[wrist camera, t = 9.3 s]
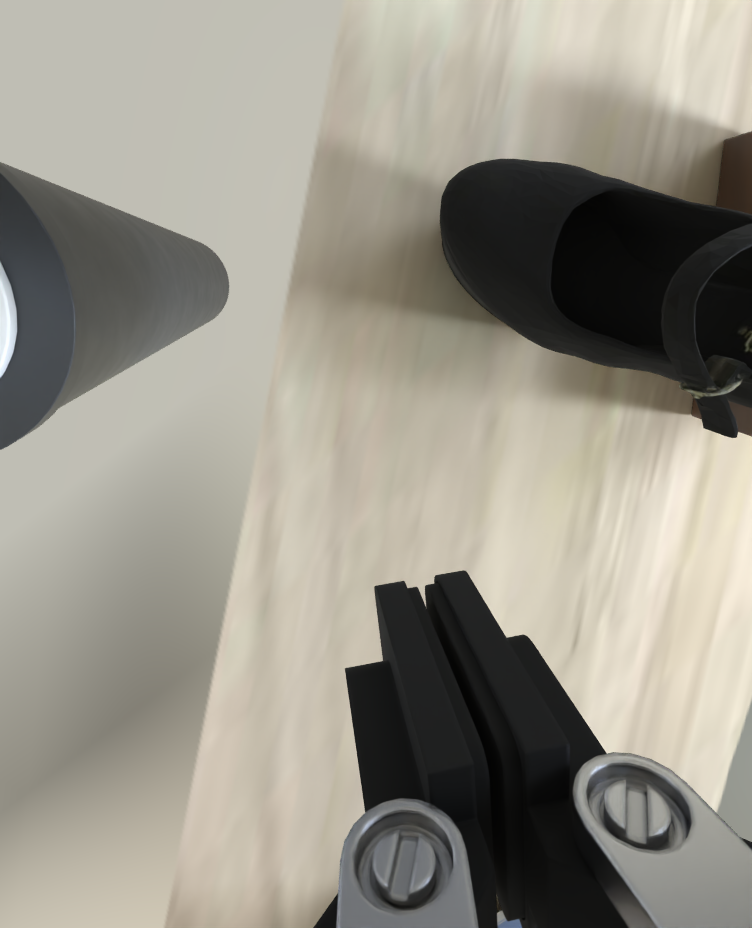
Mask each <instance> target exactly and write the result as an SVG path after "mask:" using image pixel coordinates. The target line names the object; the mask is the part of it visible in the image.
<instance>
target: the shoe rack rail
mask: <svg viewBox="0 0 752 928" xmlns="http://www.w3.org/2000/svg"><path fill="white" fill-rule="evenodd" d="M716 207H721V208H726V209H732V210H737V211H741V212H744V213H748V214H751V215H752V131H751V132H748V133H745V134H741V135H738V136H735V137H732V138H729V139H726V140H724V146H723V155H722V163H721V172H720V180H719V188H718V197H717V205H716ZM728 402H729V404H730V408H731V410H732V412H733V414H734V416H735V418H736V423H737V426H738V432H741V433H744V434H747V435H749V436H752V408H749V407H746V406H743V405H739V404H736V403H733V402H730V401H728ZM692 416H694V417H697V418H700V419H702V417H701V414H700V411H699V408H698V405H697V403H696V401H695V398H694V399H693V407H692Z"/></svg>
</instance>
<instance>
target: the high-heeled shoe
mask: <svg viewBox="0 0 752 928" xmlns="http://www.w3.org/2000/svg"><path fill="white" fill-rule="evenodd" d="M440 228H441V236H442V246H443V251H444V254H445V257H446V260H447V262H448V264H449V267H450V269H451V270H452V272H453V274H454V276H455V277H456V279H457V280H458V281H459V283H460V284H461V285H462V286H463V287H464V289H465V290H466V291H467V292H468V293H469V294H470V295H471V296H472V297H473V298H474V299H475V300H476V301H477V302H478V303H479V304H480V305H481V306H482V307H484V308H485V309H486V310H487V311H489V312H490V313H491V314H493V315H494V316H495V317H497V318H498V319H500V320H501V321H503V322H504V323H506V324H507V325H508V326H510V327H511V328H512V329H514V330H515V331H516V332H518V333H519V334H521V335H522V336H524V337H525V338H527V339H528V340H530V341H532V342H534V343H536V344H538V345H540V346H541V347H544V348H547V349H549V350H552V351H555V352H559V353H563V354H568V355H572V356H576V357H579V358H582V359H585V360H588V361H590V362H593V363H597V364H601V365H604V366H608V367H617V368H627V369H634V370H641V371H648V372H652V373H656V374H659V375H662V376H664V377H667V378H670V379H672V380H675V381H678V382H682V383H681V384H680V385H679V388H681V389H683V390H685V391H687V392H690V393H691V394H692V396H693V397H694V398H695V401H696V403H697V405H698V408H699V411H700V414H701V417H702V422H703V427H704V428H705V429H708V430H711V431H713V432H716V433H719V434H721V435H724V436H727V437H731V438H736V437H737V433H738V426H737V423H736V418H735V416H734V414H733V412H732V410H731V408H730V404H729V402H728V401H730V402H733V403H736V404H739V405H743V406H746V407H749V408H752V215H751V214H748V213H744V212H741V211H737V210H732V209H726V208H721V207H715V206H710V205H704V204H699V203H693V202H689V201H685V200H682V199H679V198H675V197H672V196H669V195H665V194H662V193H659V192H655V191H652V190H649V189H645V188H642V187H639V186H636V185H634V184H631V183H628V182H625V181H622V180H619V179H615V178H611V177H606V176H602V175H599V174H597V173H594V172H591V171H589V170H586V169H583V168H581V167H577V166H572V165H567V164H562V163H555V162H538V161H529V160H519V159H497V160H490V161H485V162H480V163H477V164H475V165H472V166H469V167H467V168H465V169H463V170H462V171H460V172H459V173H458V174H457V175H455V176H454V177H453V178H452V179H451V180H450V181H449V182H448V184H447V186H446V188H445V190H444V193H443V195H442V199H441V209H440Z"/></svg>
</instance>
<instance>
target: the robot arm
mask: <svg viewBox="0 0 752 928" xmlns="http://www.w3.org/2000/svg"><path fill="white" fill-rule="evenodd" d="M16 335H17V310H16V305H15V301H14V296H13V292H12V288H11V285H10V282H9V280H8V278H7V275H6V273H5V271H4V268H3V266H2V264H1V262H0V378H1V376H2V375H3V374H4V372H5V371H6V368H7V366H8V364H9V361H10V359H11V357H12V354H13V352H14V346H15V341H16ZM425 596H426V606H425V604H424V602H423V599H422V597H421V594H420V592H419V589H418V588H417V587H413V588H407V586H406V584H405V581H400V582H395V583H389V584H383V585H378V586H375V599H376V607H377V615H378V623H379V631H380V639H381V647H382V655H383V661H382V662H376V663H371V664H366V665H360V666H355V667H350V668H345V672H346V680H347V687H348V694H349V701H350V708H351V715H352V722H353V729H354V736H355V743H356V750H357V757H358V764H359V771H360V778H361V785H362V792H363V799H364V806H365V814H364V815H363V816H362V817H361V818H360V819H359V820H358V821H357V822H356V823H355V824H354V825H353V827H352V828H351V830H350V832H349V834H348V836H347V838H346V839H345V841H344V846H343V850H342V855H341V860H340V873H339V890H338V894H337V895H336V897H335V898H334V900H333V901H332V902H331V904H330V905H329V907H328V908H327V909H326V911H325V912H324V914H323V915H322V916H321V918H320V919H319V921H318V922H317V924H316V925H315V926H314V928H498V925H497V904H496V894H497V897H498V900H499V903H500V906H501V908H502V911H503V914H504V916H505V918H506V920H507V921H508V922H509V921H513V920H517V919H519V920H520V923H521V926H522V928H752V842H750V841H748V840H745V839H743V838H741V837H739V836H738V835H737V834H736V833H735V832H734V831H733V830H732V829H731V828H730V827H729V826H728V825H727V824H726V823H725V821H723V820H722V818H721V817H720V816H719V815H718V814H717V813H716V812H715V811H714V810H713V809H712V808H711V807H710V806H709V805H708V804H707V803H706V802H705V801H704V800H703V799H702V798H701V797H700V796H699V795H698V794H697V793H696V792H695V791H694V790H693V789H692V788H691V787H690V786H689V785H688V784H687V783H686V782H685V781H684V780H683V779H681V778H680V777H679V776H678V775H676V774H675V773H674V772H673V771H672V770H670V769H669V768H667V767H665V766H663V765H661V764H659V763H657V762H655V761H654V760H652V759H649V758H645V757H642V756H638V755H635V754H631V753H614V752H613V753H608V754H607V753H606V752H605V750H604V749H603V747H602V746H601V744H600V743H599V741H598V740H597V738H596V737H595V735H594V734H593V732H592V731H591V729H590V728H589V726H588V725H587V723H586V722H585V720H584V719H583V717H582V716H581V714H580V713H579V711H578V710H577V708H576V707H575V705H574V704H573V702H572V701H571V699H570V698H569V696H568V695H567V693H566V692H565V690H564V689H563V687H562V686H561V684H560V683H559V681H558V680H557V678H556V677H555V675H554V674H553V672H552V671H551V669H550V668H549V666H548V665H547V663H546V662H545V660H544V659H543V657H542V656H541V654H540V653H539V651H538V650H537V648H536V647H535V645H534V644H533V642H532V641H531V640H530V639H529V638H528V637H527V636H525V635H519V636H514V637H508V638H506V636H505V635H504V633H503V631H502V630H501V628H500V626H499V625H498V623H497V621H496V620H495V618H494V616H493V615H492V613H491V611H490V610H489V608H488V606H487V605H486V603H485V601H484V600H483V598H482V597H481V595H480V593H479V592H478V590H477V588H476V587H475V585H474V583H473V582H472V580H471V578H470V577H469V575H468V573H467V572H466V571H458V572H452V573H446V574H441V575H436V576H435V579H434V584H430V585H426V586H425ZM426 608H427V609H426Z"/></svg>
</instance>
